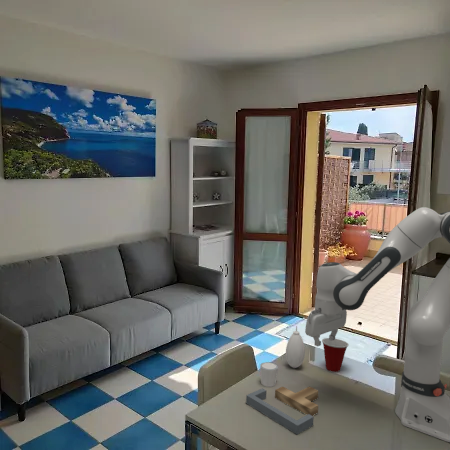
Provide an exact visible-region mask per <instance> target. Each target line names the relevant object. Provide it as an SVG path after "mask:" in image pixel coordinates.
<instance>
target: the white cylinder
mask: <svg viewBox="0 0 450 450" xmlns="http://www.w3.org/2000/svg"><path fill="white" fill-rule="evenodd" d="M259 368H260V369H259V370H260V371H259V372H260V383H261V385H262V386H264V387H274V386H275V385H276V383H277V377H278V371H279V366H278V364H276V363H275V362H268V361H265V362H262V363H261V364H259Z"/></svg>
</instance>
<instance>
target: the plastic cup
mask: <svg viewBox="0 0 450 450" xmlns="http://www.w3.org/2000/svg"><path fill="white" fill-rule="evenodd" d="M321 343H322V344H323V352H324V353H323V354H324V361H325V362H324V363H325V368H326V370H327V371H328V372H331V373H338V372H340V371H341V368H342V365H343V362H344V358H345V354H346V350H347V348H348V347H349V343H348V342H347V341H345V340H344V339H343V340H342V339H339V338H335V340H333V341H331V340H329V337H326V338H323V339H321Z"/></svg>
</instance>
